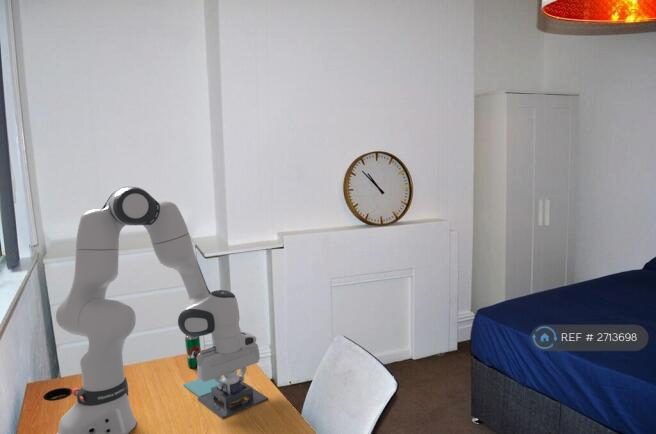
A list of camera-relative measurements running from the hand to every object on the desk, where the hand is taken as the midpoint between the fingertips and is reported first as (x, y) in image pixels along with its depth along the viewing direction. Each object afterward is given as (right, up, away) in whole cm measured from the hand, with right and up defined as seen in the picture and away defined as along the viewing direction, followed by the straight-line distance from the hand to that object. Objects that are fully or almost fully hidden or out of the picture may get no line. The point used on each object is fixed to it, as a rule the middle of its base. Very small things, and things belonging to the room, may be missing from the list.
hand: (231, 384), depth 168 cm
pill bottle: (0, -5, +1) cm, 5 cm away
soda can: (-18, -2, +28) cm, 34 cm away
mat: (-10, -4, +12) cm, 16 cm away
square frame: (0, -5, +1) cm, 5 cm away
